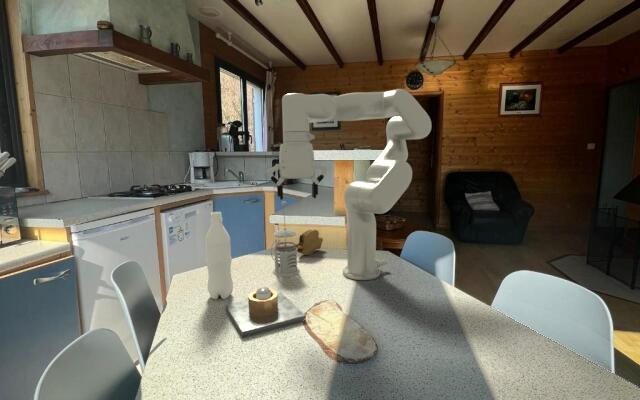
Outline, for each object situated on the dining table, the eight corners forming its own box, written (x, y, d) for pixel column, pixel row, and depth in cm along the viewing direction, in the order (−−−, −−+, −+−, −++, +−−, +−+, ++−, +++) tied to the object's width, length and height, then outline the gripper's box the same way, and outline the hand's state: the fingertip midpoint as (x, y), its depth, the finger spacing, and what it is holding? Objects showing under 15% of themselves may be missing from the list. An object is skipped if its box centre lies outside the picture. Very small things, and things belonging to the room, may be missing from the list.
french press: (305, 269, 125) (304, 200, 121) (285, 280, 115) (283, 205, 111) (283, 265, 130) (281, 198, 126) (262, 274, 120) (259, 202, 117)
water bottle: (226, 302, 99) (221, 215, 96) (203, 300, 101) (197, 214, 97) (237, 292, 106) (233, 210, 103) (215, 290, 108) (210, 210, 104)
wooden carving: (314, 248, 152) (314, 225, 150) (323, 249, 149) (323, 226, 148) (292, 258, 138) (292, 233, 136) (302, 260, 135) (302, 235, 134)
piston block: (281, 297, 102) (280, 274, 101) (305, 320, 88) (304, 293, 87) (225, 310, 94) (224, 285, 93) (242, 338, 80) (241, 308, 79)
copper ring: (271, 301, 96) (271, 287, 95) (281, 311, 90) (281, 297, 89) (245, 307, 92) (245, 293, 92) (254, 318, 86) (253, 303, 86)
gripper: (323, 138, 105) (324, 195, 108) (265, 139, 102) (267, 197, 105) (328, 138, 98) (329, 198, 100) (266, 138, 95) (268, 201, 97)
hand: (297, 198), depth 103 cm, fingers open, 9 cm apart
